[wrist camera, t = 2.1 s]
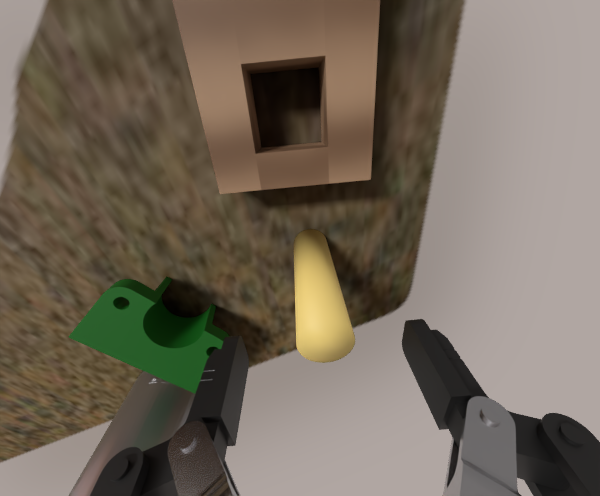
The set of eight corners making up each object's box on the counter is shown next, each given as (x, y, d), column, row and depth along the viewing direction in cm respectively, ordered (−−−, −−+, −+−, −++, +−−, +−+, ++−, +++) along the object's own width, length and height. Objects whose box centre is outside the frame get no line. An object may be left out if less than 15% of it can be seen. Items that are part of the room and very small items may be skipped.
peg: (321, 261, 23) (343, 366, 13) (290, 254, 23) (290, 358, 13) (331, 233, 22) (364, 327, 12) (298, 225, 21) (305, 316, 12)
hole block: (357, 169, 19) (370, 179, 16) (231, 181, 19) (219, 193, 16) (369, -258, 11) (401, -411, 7) (140, -233, 11) (80, -374, 8)
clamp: (226, 290, 30) (250, 350, 23) (195, 325, 30) (210, 394, 24) (118, 248, 21) (108, 323, 15) (79, 297, 22) (53, 390, 16)
